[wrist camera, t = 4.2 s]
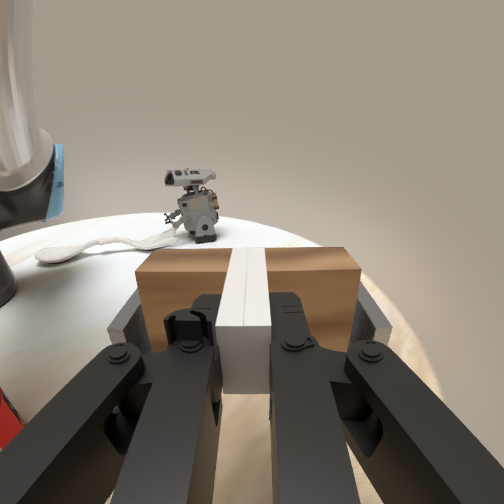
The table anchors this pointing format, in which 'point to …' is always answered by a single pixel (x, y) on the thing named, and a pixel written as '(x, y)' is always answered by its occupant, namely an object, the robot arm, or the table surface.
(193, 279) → the slab
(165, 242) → the white elongated piece
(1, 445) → the canned food
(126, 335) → the chute
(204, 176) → the figurine
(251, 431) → the table surface
